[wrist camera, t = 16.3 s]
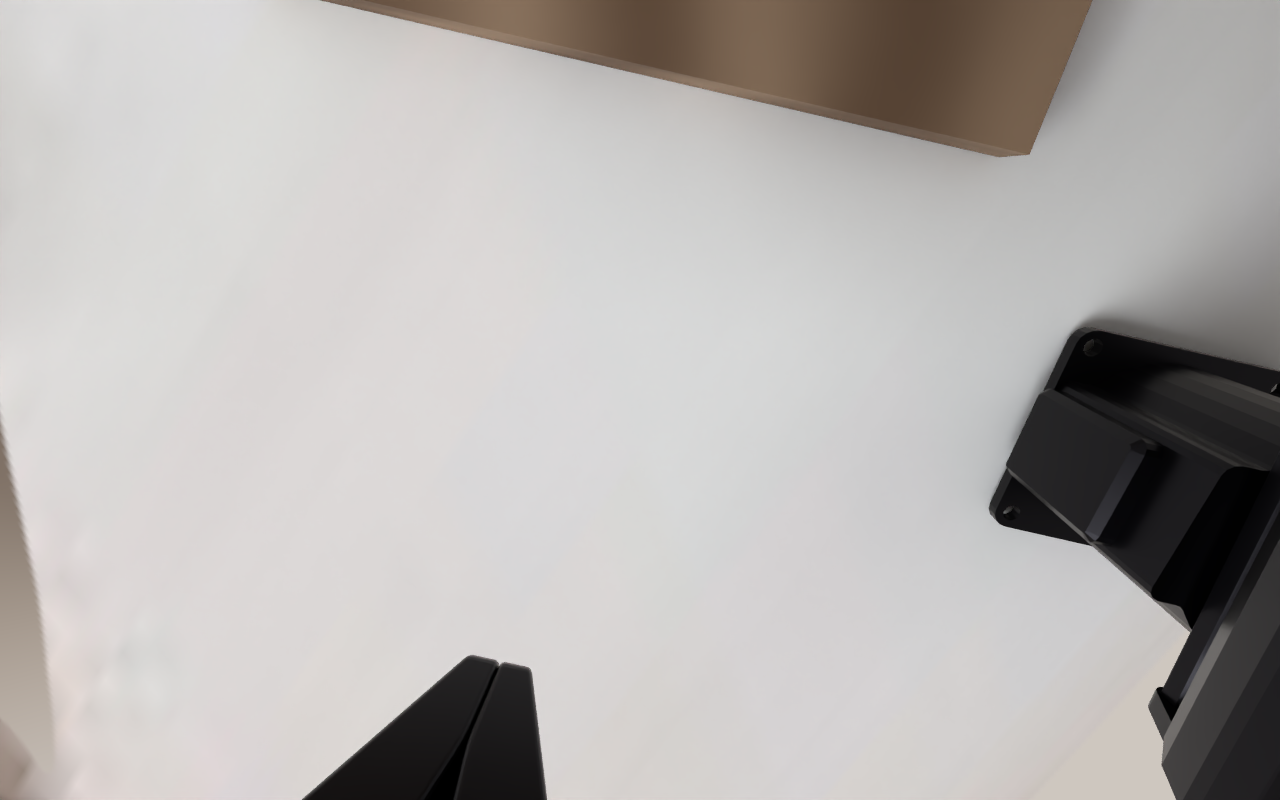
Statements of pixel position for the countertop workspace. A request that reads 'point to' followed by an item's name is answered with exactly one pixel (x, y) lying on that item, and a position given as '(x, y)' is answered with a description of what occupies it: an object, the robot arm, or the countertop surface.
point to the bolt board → (812, 54)
